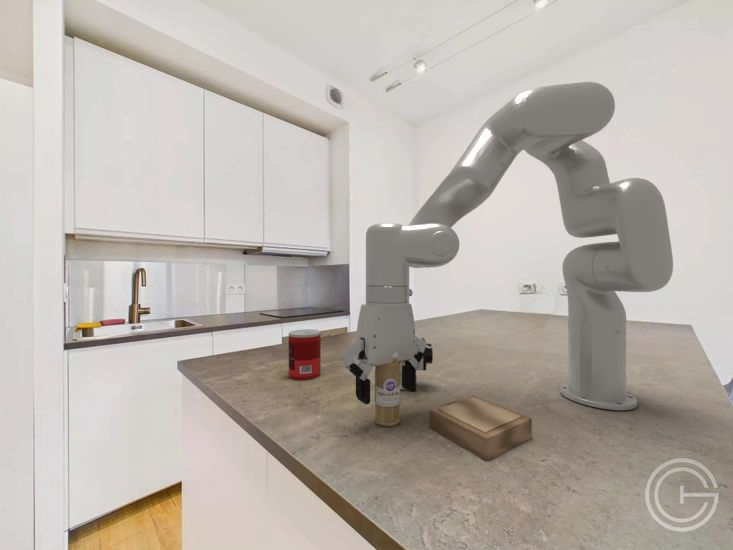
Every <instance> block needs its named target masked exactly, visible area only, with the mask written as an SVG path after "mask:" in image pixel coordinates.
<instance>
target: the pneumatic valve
mask: <svg viewBox="0 0 733 550" xmlns="http://www.w3.org/2000/svg"><path fill="white" fill-rule="evenodd" d="M419 338H420V339H422V340H423V341H425V342H426V343H427V341H426V338H424V337H419ZM415 348H416V347H415ZM433 357H434V355H433V345H432V343H427V344H426V347H425V350H424V352H423V358H422V359H421V361H420V362H419V368H418V369H416V371H427V367H428V365H431V364H433ZM404 365H405V364H404V363H403V361H402V362H400V391H408V390H407V389H405V388H403V387H402V366H404ZM417 386H418V375H417V374H416V387H417Z"/></svg>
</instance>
